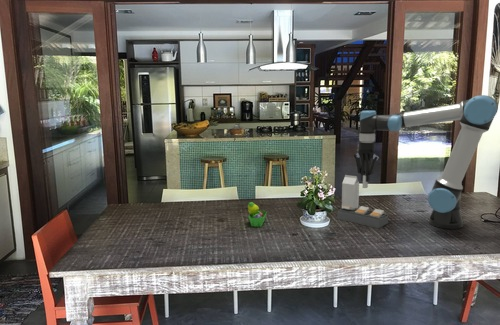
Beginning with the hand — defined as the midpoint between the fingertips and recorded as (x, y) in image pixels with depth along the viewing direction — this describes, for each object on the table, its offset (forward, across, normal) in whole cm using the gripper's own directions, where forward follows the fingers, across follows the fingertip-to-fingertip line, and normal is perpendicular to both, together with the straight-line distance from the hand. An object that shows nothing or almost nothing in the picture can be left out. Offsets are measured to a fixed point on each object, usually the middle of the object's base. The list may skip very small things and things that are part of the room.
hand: (365, 187), depth 205 cm
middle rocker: (+12, 0, +2) cm, 12 cm away
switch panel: (+17, 0, +2) cm, 17 cm away
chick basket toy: (+18, +38, +40) cm, 58 cm away
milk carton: (+18, +16, -14) cm, 28 cm away
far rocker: (+12, +8, +2) cm, 15 cm away
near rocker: (+12, -8, +2) cm, 15 cm away
